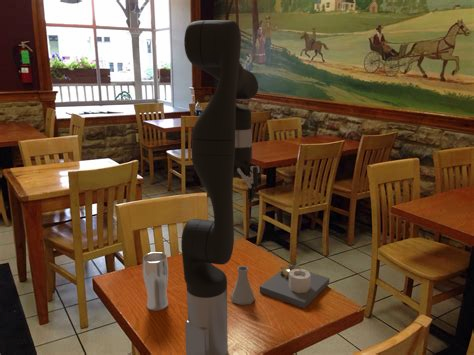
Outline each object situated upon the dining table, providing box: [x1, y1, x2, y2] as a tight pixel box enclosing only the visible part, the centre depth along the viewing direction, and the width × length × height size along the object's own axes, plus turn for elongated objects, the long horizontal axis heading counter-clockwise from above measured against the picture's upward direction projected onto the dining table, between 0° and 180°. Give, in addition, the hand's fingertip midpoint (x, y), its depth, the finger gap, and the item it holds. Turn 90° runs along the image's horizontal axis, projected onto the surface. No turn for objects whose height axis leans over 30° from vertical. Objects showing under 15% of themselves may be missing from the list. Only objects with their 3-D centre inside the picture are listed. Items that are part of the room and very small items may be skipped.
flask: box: [230, 265, 256, 306], centre depth 119 cm, size 7×7×10 cm
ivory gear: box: [288, 268, 311, 293], centre depth 122 cm, size 6×6×4 cm
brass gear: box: [279, 263, 305, 279], centre depth 131 cm, size 8×8×3 cm
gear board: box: [259, 270, 330, 309], centre depth 126 cm, size 17×15×6 cm
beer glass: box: [142, 251, 169, 312], centre depth 116 cm, size 7×7×15 cm
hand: (239, 197), depth 124 cm, fingers open, 8 cm apart
